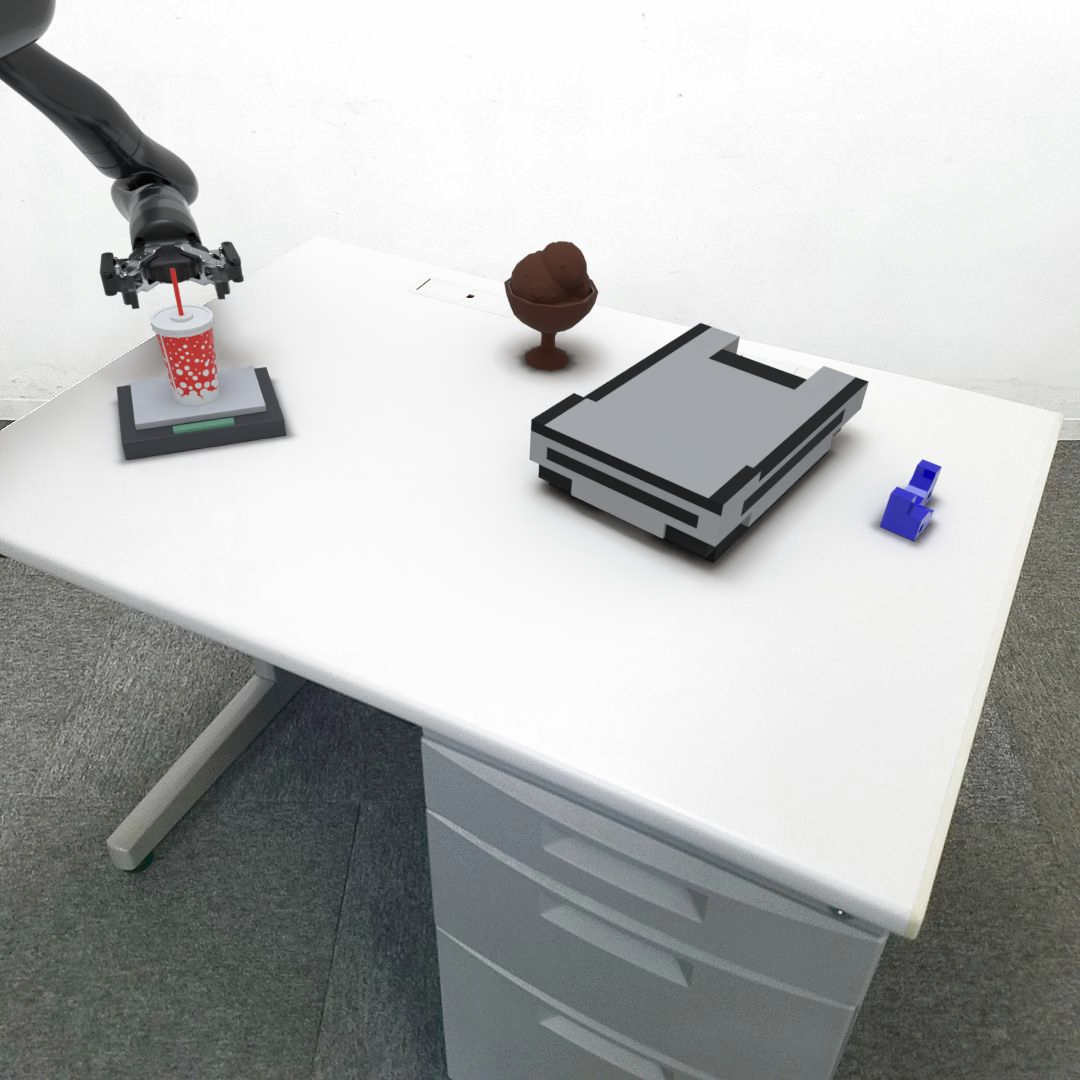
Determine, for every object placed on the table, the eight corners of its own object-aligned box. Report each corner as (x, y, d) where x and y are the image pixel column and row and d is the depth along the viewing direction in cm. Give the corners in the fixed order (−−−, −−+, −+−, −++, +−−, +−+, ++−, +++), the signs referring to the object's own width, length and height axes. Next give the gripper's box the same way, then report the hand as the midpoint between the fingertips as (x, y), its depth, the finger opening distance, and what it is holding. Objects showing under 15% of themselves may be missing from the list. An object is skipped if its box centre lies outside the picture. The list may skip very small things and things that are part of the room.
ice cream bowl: (580, 337, 123) (589, 221, 114) (599, 379, 115) (610, 258, 105) (498, 340, 122) (500, 223, 112) (511, 383, 113) (514, 261, 104)
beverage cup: (239, 394, 103) (218, 268, 94) (190, 416, 99) (164, 287, 90) (203, 375, 106) (179, 251, 97) (155, 395, 102) (125, 269, 93)
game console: (852, 437, 107) (871, 371, 102) (708, 578, 87) (723, 504, 81) (692, 376, 117) (702, 312, 111) (528, 490, 96) (531, 419, 91)
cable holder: (914, 541, 92) (926, 507, 90) (879, 526, 94) (890, 493, 92) (944, 505, 97) (956, 472, 95) (911, 491, 99) (922, 459, 97)
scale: (126, 460, 97) (119, 436, 95) (120, 402, 106) (114, 379, 104) (286, 435, 102) (283, 412, 100) (268, 382, 111) (265, 360, 109)
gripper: (91, 211, 106) (95, 268, 95) (224, 200, 111) (243, 253, 99) (107, 275, 111) (112, 337, 99) (234, 263, 115) (253, 320, 104)
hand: (178, 295), depth 99 cm, fingers open, 8 cm apart
